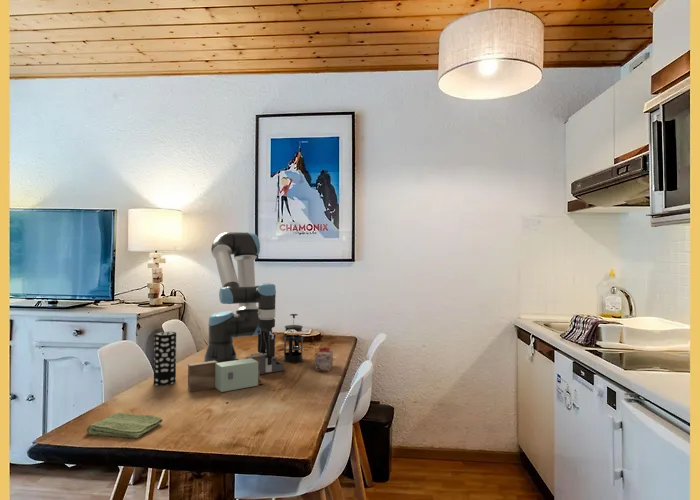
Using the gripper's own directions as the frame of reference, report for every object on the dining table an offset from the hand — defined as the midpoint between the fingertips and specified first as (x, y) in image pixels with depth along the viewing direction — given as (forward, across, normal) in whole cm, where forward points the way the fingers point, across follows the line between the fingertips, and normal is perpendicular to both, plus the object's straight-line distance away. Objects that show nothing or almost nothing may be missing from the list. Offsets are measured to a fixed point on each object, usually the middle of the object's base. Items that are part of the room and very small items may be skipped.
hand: (265, 370), depth 200 cm
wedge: (+1, 0, +1) cm, 1 cm away
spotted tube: (+1, -8, -41) cm, 42 cm away
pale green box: (+1, +14, -19) cm, 24 cm away
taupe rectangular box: (+1, +9, -22) cm, 23 cm away
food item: (+1, +9, +25) cm, 27 cm away
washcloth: (+1, +35, -62) cm, 71 cm away
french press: (+1, -13, +21) cm, 25 cm away
